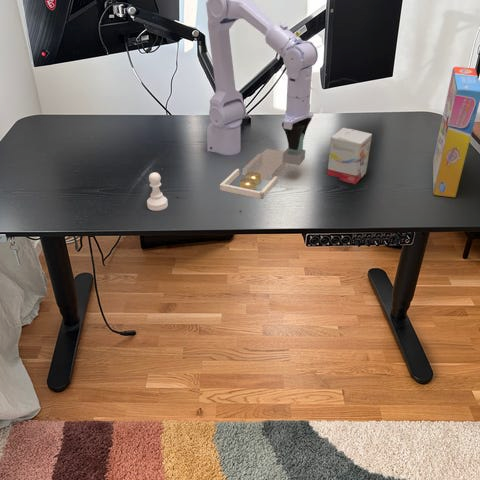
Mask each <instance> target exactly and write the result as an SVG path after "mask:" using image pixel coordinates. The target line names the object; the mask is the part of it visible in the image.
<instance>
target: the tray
mask: <svg viewBox="0 0 480 480" xmlns="http://www.w3.org/2000/svg"><path fill="white" fill-rule="evenodd" d="M240 171H241V170H240V169H239V168H236V169H234V171H233V172H231V174H230V175H229V176H227V177H226V179H224V180H223V181H222V182H221V183H220V184H219V190H220V191H223V192H227V193H232V194H237V195H242V196H247V197H250V198H255V199H259V200H264V198H265V197H266V196H267V195H268V194H269V192H270V191H271V190H272V189H273V188H274V187H275V185H277V183H278V178H279V177H277V176H275V177H274V178H273V179H272V180H271V181H270V180H269V182H268V183H267V185H265V187H263V189H262V190H260V191H259V190H256V189H255V190H250V189H245V188H241V187H240V186H235V185H231V183H233V181H235V180H236V179H237V178H238V177H239V176H240V174H241V172H240Z"/></svg>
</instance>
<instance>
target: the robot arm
mask: <svg viewBox="0 0 480 480" xmlns="http://www.w3.org/2000/svg"><path fill="white" fill-rule="evenodd" d="M205 5H206V13H207V14H206V15H207V29H208V30H207V31H208V38H209V45H210V46H209V47H210V53H211V62H212V69H213V78H214V85H215V92H214V94H213V95H212V97H210V100H209V112H208V116H209V120H210V123H209V124H208V126H207V130H206V144H207V145H206V146H207V148H206V149H207V152H213V153H216V154H220V155H223V156H232V155H237V154H239V153H240V152H241V124H242V123H243V119H244V118H245V117H246V114H247V108H246V104H245V102H244V98H243V94H242V93H241V92H240V91H238V90H237V89H236V83H235V73H234V65H233V55H232V53H233V52H232V47H231V46H232V45H231V36H230V29H231V28H232V27H233V25H234V24H235V22H236V21H238V20H240V19H241V20H244V21H246V23H248V24H250V25H251V27H253V28H255V29H257V31H259V32H260V33H261V34H262V35H264V36H265V39H264V40H265V43H266V44H267V45H268V46H269V47H270V48H271V49H272V50H273V51H274V52H276V53H277V54H278V55H279V56H280V57H281V58H282V61H283V64H284V66H285V68H286V69H285V70H286V75H287V86H286V87H287V89H286V90H287V91H286V109H285V110H286V111H285V114H284V115H285V118H284V120H283V122H282V123H281V127H282V129H283V131H284V132H285V136H286V139H287V146H288V145H289V149H293V150H297V149H298V146H299V141H300V136H301V133H304V138H303V141H304V139H305V135H306V132H307V129H308V127H309V125H310V123H311V122H312V118H313V117H314V113H313V112H311V104H310V102H311V90H312V75H313V74H312V73H313V66H314V65H315V64H316V63H317V62H318V58H319V53H318V49H317V47H316V46H315V45H314V43H313V42H312V41H309V40H305V41H304V40H302V38H301V37H300V36H297V35H296V34H294V32H292V31H291V30H290V29H289V28H288V27H289V26H288V25H287V24H286V23H281V22H277V23H275V22H274V21H273V20H272V19H270V18H269V17H268V16H267V15H266V13H265V12H264V11H263V10H262V9H261V8H260V7H259V6H258V5H257V4H256V3H255V2H254V1H253V0H207V1H206V3H205Z"/></svg>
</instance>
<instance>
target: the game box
mask: <svg viewBox="0 0 480 480" xmlns="http://www.w3.org/2000/svg"><path fill="white" fill-rule="evenodd" d="M479 80H480V79H479V76H478V74H477V70H476V67H475V68H473V67H465V66H462V67H461V66H453V68H452V71H451V75H450V80H449V84H448V85H449V86H448V90H447V93H446V94H447V95H446V98H445V103H444V109H443V113H442V117H441V123H440V127H439V128H440V129H439V132H438V137H437V142H436V146H435V149H434V150H435V151H434V156H433V160H432V178H433V179H432V184H433V186H432V190H433V191H432V192H433V195H434V196H439V197H440V196H441V197H446V198H447V197H449V198H456V197H457V192H458V189H459V185H460V180H461V176H462V174H463V173H462V172H463V168H464V164H465V161H466V157H467V154H468V149H469V145H470V143H471V142H470V141H471V137H472V135H473V134H472V133H473V129H474V125H475V121H476V117H477V113H478V109H479V105H480V81H479Z"/></svg>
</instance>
